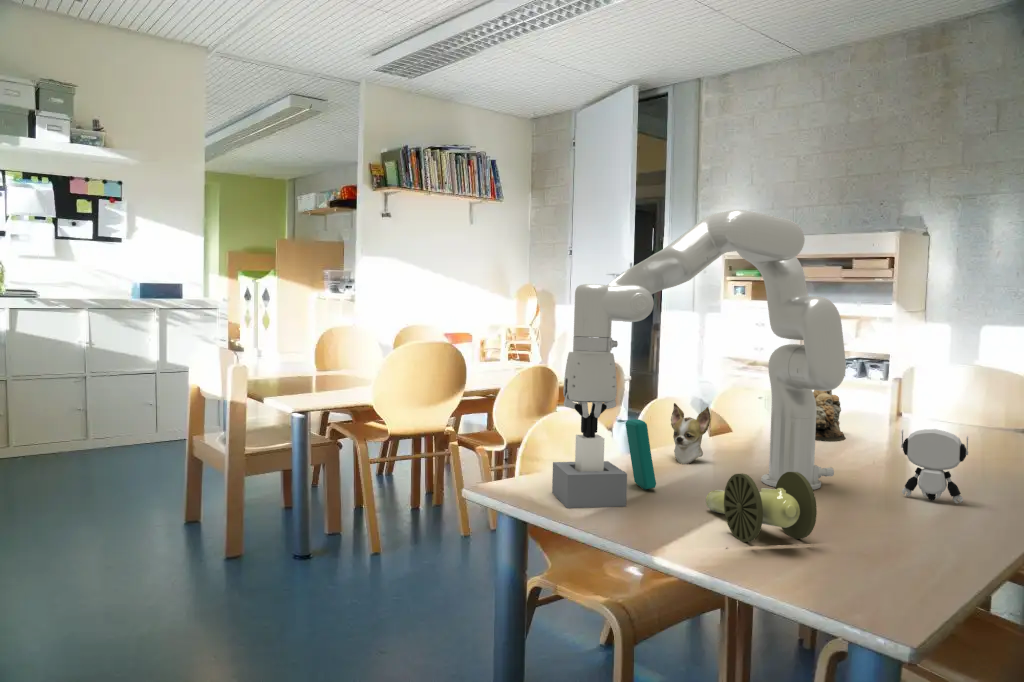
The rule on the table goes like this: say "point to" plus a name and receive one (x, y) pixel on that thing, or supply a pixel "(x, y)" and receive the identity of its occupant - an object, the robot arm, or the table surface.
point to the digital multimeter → (640, 453)
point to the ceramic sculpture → (688, 434)
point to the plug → (589, 453)
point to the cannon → (766, 506)
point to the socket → (589, 486)
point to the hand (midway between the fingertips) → (588, 436)
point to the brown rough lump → (827, 417)
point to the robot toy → (934, 461)
